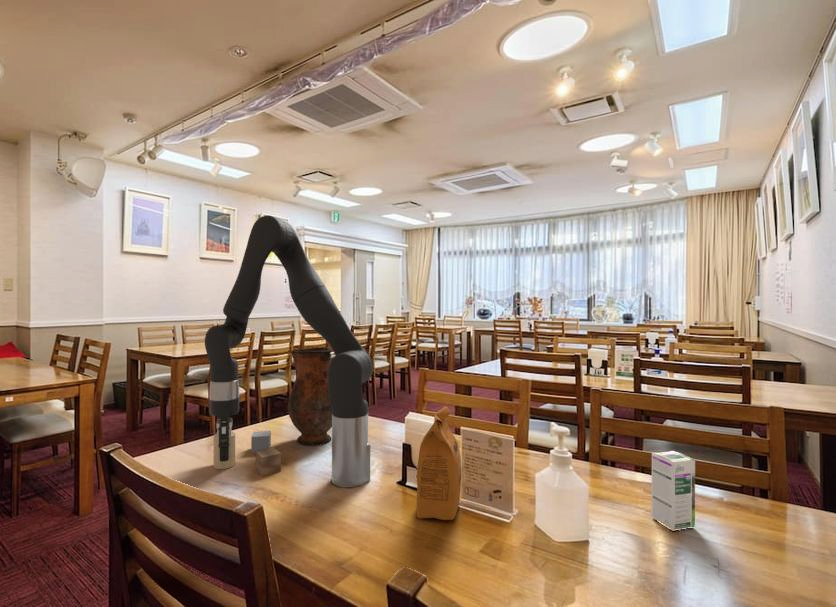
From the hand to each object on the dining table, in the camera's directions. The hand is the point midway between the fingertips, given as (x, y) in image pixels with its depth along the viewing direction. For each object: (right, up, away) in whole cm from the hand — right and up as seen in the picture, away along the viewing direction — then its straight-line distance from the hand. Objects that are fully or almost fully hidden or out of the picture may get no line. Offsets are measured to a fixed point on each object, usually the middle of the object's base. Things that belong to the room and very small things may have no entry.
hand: (224, 456), depth 117 cm
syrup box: (+108, -4, -28) cm, 111 cm away
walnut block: (+13, -3, -3) cm, 14 cm away
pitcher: (+22, -2, +20) cm, 30 cm away
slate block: (+6, -2, +12) cm, 14 cm away
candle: (0, -3, 0) cm, 3 cm away
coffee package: (+59, -4, -23) cm, 63 cm away
